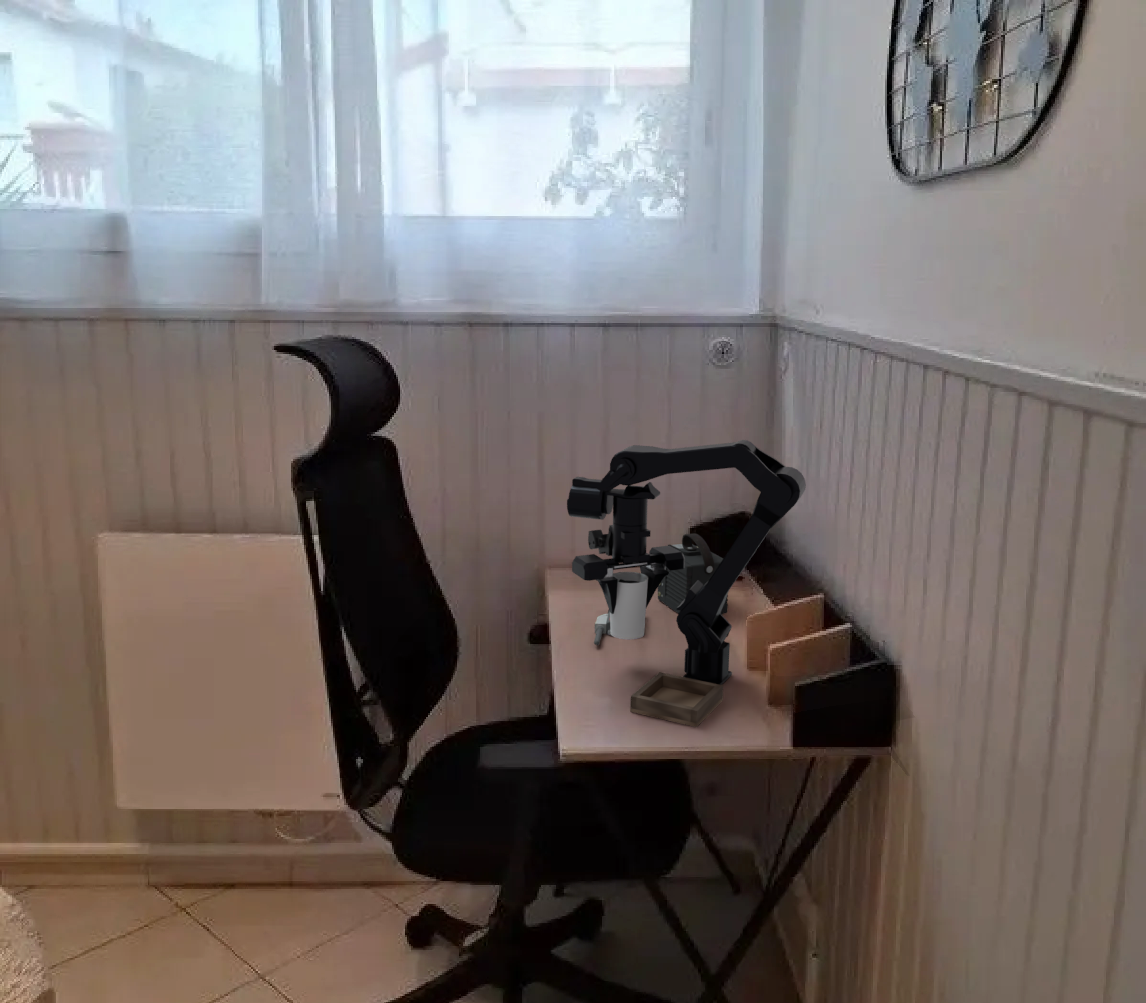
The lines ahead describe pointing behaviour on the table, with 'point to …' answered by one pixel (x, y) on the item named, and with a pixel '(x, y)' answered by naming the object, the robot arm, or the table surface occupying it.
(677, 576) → the camera
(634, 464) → the robot arm
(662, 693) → the frame
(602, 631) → the walkie-talkie
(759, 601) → the table surface
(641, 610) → the white cup
